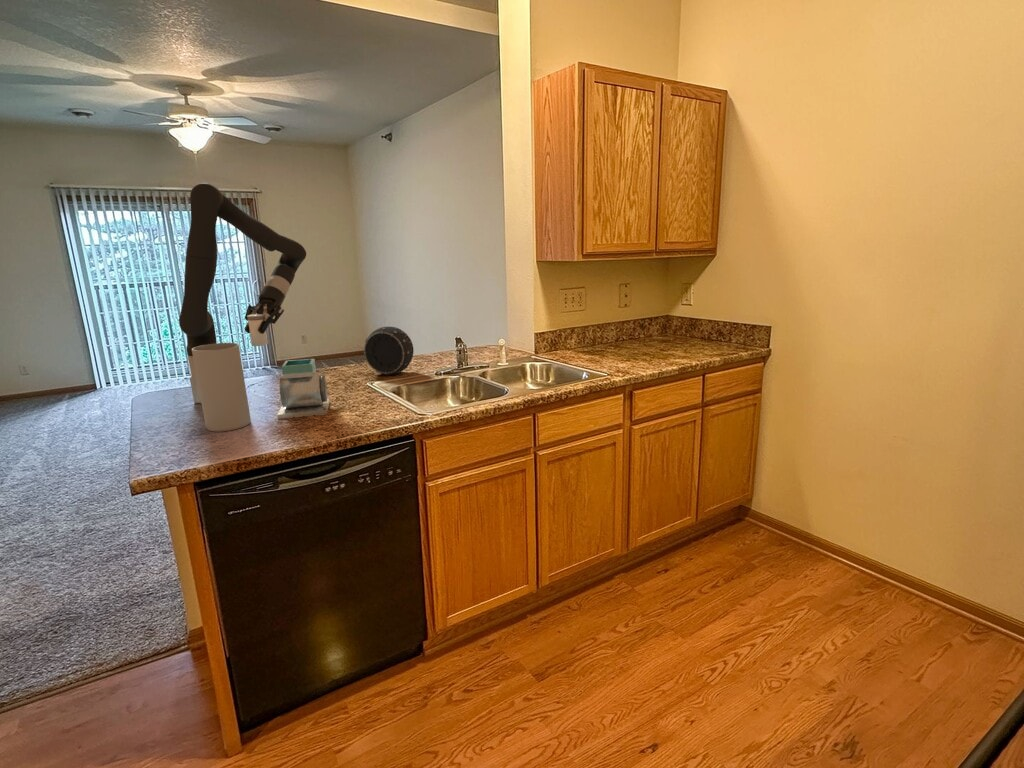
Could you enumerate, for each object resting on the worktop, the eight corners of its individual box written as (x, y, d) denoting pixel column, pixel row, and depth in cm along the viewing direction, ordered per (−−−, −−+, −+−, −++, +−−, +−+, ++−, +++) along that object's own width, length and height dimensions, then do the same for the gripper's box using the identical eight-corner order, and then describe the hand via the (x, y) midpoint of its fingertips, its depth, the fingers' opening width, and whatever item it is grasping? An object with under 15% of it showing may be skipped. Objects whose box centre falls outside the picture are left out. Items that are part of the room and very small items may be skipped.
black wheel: (408, 377, 222) (404, 329, 217) (363, 376, 226) (358, 328, 221) (417, 371, 232) (414, 325, 227) (374, 370, 236) (370, 324, 231)
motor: (277, 419, 174) (270, 369, 169) (284, 406, 187) (277, 359, 183) (326, 414, 177) (320, 365, 173) (329, 402, 190) (324, 356, 186)
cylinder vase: (235, 417, 177) (222, 341, 171) (259, 422, 171) (247, 344, 164) (197, 428, 167) (182, 348, 160) (222, 435, 160) (207, 352, 154)
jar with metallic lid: (250, 346, 180) (245, 316, 178) (253, 343, 185) (248, 314, 182) (266, 345, 181) (262, 315, 179) (269, 342, 186) (265, 313, 184)
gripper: (251, 284, 187) (229, 325, 179) (284, 284, 182) (263, 326, 175) (265, 298, 193) (244, 337, 186) (297, 298, 189) (277, 339, 181)
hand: (253, 331), depth 180 cm, fingers closed on jar with metallic lid, 5 cm apart
